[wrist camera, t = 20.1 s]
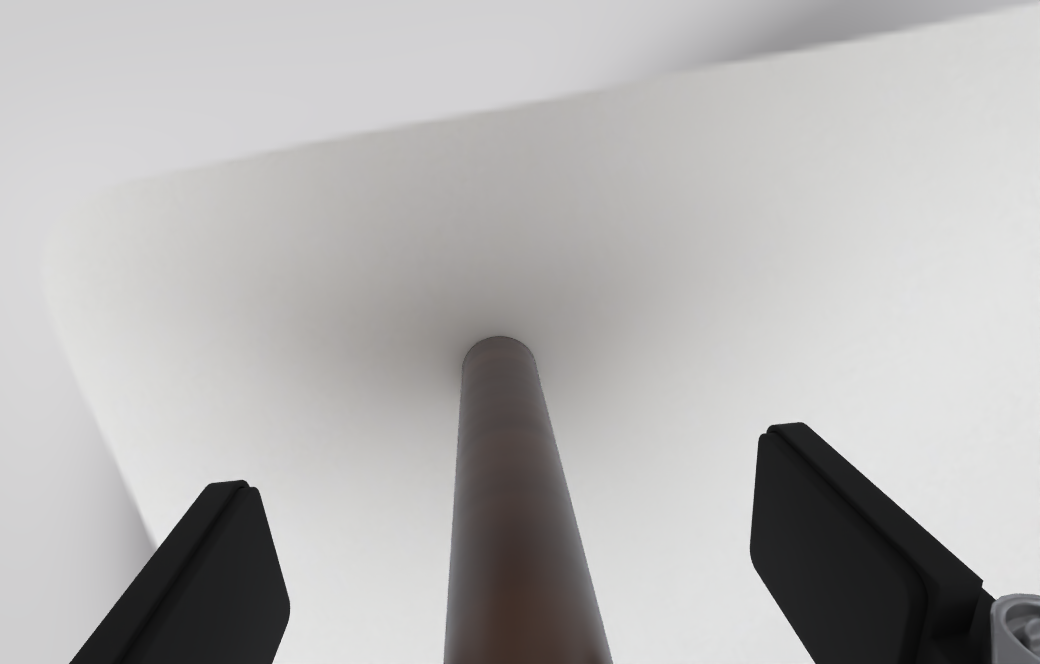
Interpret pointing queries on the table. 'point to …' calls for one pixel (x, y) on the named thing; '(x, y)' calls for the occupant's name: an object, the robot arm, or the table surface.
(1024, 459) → the table surface
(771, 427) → the robot arm
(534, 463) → the stick
